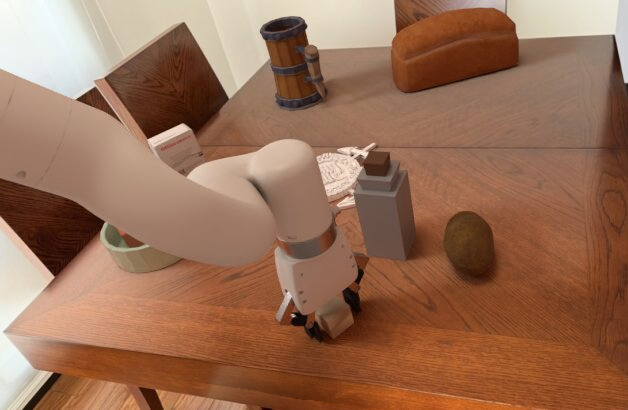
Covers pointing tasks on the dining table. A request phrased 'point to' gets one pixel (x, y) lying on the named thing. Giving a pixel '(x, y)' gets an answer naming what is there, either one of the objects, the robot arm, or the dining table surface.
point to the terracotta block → (130, 239)
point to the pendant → (342, 173)
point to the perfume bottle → (385, 207)
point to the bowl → (134, 253)
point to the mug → (293, 64)
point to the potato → (469, 243)
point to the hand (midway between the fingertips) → (335, 320)
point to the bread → (453, 48)
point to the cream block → (334, 316)
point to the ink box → (178, 149)
